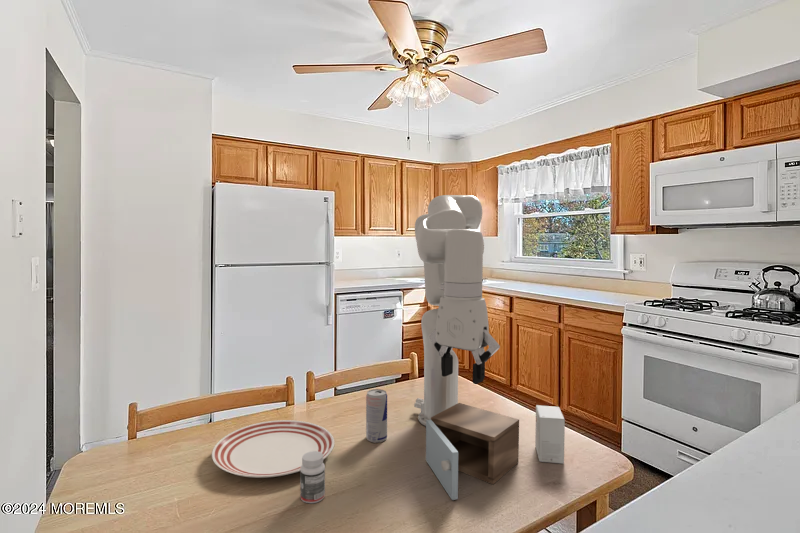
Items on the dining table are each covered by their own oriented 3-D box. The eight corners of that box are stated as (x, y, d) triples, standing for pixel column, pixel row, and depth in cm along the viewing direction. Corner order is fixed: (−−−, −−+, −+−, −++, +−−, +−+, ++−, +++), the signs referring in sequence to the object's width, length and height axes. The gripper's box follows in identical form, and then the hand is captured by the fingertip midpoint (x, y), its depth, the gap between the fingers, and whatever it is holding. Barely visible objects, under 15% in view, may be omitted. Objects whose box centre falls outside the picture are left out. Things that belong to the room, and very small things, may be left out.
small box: (564, 464, 99) (565, 419, 98) (538, 462, 100) (539, 417, 99) (558, 448, 107) (559, 406, 106) (534, 446, 108) (535, 404, 107)
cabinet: (430, 459, 101) (431, 417, 100) (458, 441, 110) (459, 402, 109) (493, 484, 90) (494, 437, 90) (518, 462, 100) (519, 419, 99)
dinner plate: (355, 443, 109) (355, 430, 109) (283, 502, 84) (282, 486, 84) (270, 424, 121) (269, 412, 120) (183, 471, 96) (183, 456, 96)
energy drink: (390, 435, 113) (390, 390, 113) (382, 444, 108) (382, 397, 108) (371, 432, 115) (371, 387, 114) (362, 441, 110) (362, 394, 109)
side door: (420, 461, 99) (420, 420, 99) (430, 459, 100) (431, 419, 100) (445, 501, 84) (445, 453, 84) (457, 499, 85) (458, 451, 84)
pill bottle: (302, 490, 88) (301, 450, 88) (325, 489, 88) (325, 449, 88) (298, 504, 83) (298, 462, 83) (323, 503, 84) (323, 461, 83)
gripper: (417, 289, 90) (417, 374, 91) (493, 296, 79) (492, 393, 80) (438, 286, 96) (437, 366, 97) (511, 292, 85) (510, 383, 86)
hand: (462, 377), depth 88 cm, fingers open, 6 cm apart
